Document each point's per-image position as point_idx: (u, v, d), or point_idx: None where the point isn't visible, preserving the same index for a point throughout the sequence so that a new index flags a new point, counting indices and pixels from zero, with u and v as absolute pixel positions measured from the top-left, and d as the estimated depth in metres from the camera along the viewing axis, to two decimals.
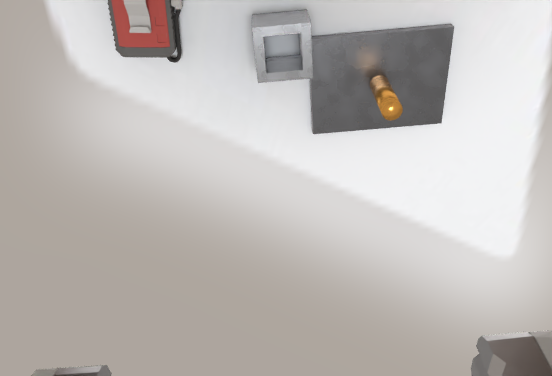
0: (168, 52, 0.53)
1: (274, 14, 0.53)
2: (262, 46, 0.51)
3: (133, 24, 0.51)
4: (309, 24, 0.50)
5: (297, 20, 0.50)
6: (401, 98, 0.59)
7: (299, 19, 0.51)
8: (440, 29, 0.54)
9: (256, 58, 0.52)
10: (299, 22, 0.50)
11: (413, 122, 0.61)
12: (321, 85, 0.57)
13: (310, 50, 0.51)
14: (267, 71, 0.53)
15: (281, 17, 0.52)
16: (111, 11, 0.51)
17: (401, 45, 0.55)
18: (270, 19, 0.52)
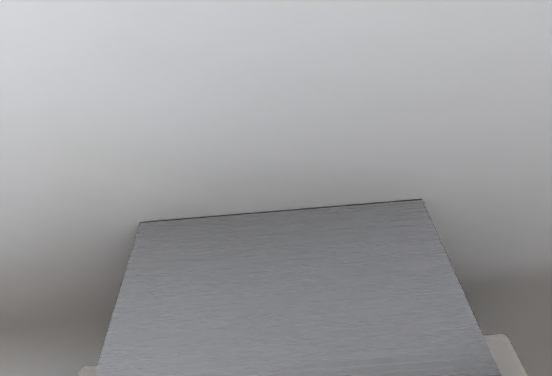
0: None
1: None
2: None
3: None
4: None
5: None
6: None
7: None
8: None
9: None
10: None
11: None
12: None
13: None
14: None
15: None
16: None
17: None
18: None
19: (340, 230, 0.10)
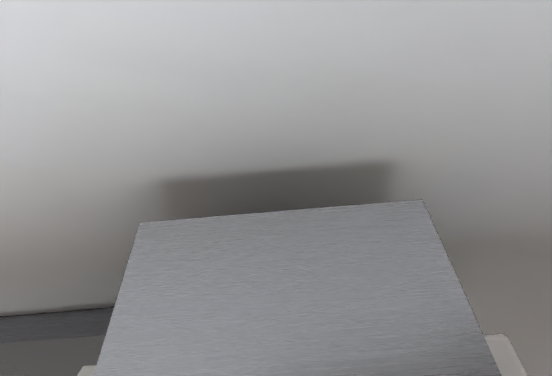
0: None
1: None
2: None
3: None
4: None
5: None
6: None
7: None
8: None
9: None
10: None
11: None
12: None
13: None
14: None
15: None
16: None
17: None
18: None
19: (340, 230, 0.10)
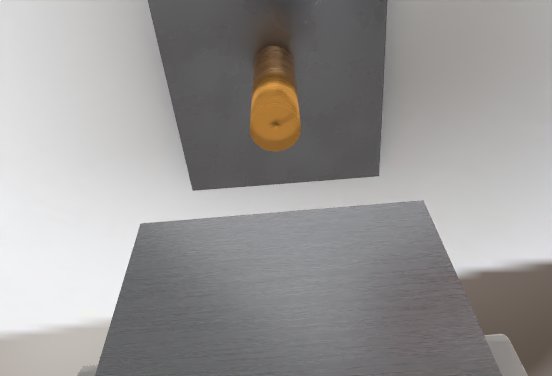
0: None
1: None
2: None
3: None
4: None
5: None
6: (241, 114, 0.28)
7: None
8: (376, 157, 0.30)
9: None
10: None
11: (189, 144, 0.30)
12: None
13: None
14: None
15: None
16: None
17: (354, 97, 0.28)
18: None
19: (341, 231, 0.10)
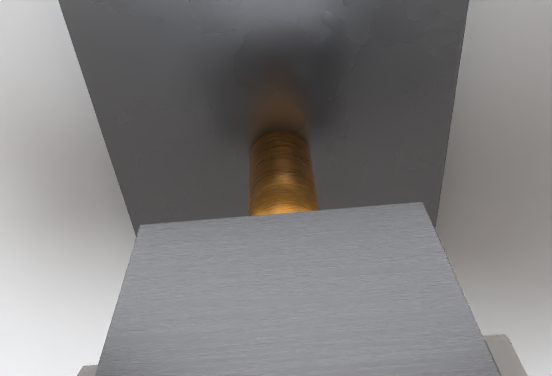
0: None
1: None
2: None
3: None
4: None
5: None
6: None
7: None
8: None
9: None
10: None
11: None
12: None
13: None
14: None
15: None
16: None
17: (398, 199, 0.19)
18: None
19: (340, 232, 0.10)
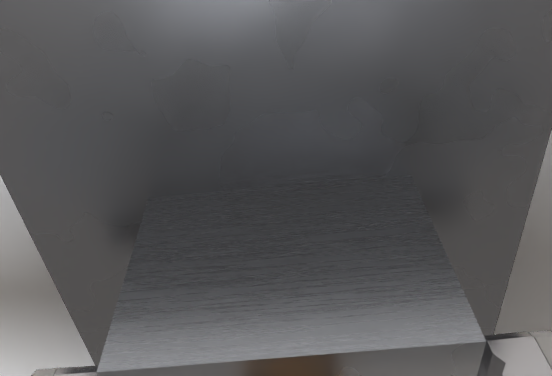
0: None
1: None
2: None
3: None
4: None
5: None
6: None
7: None
8: None
9: (273, 362, 0.08)
10: None
11: None
12: (283, 20, 0.09)
13: None
14: None
15: None
16: None
17: None
18: None
19: (334, 202, 0.11)
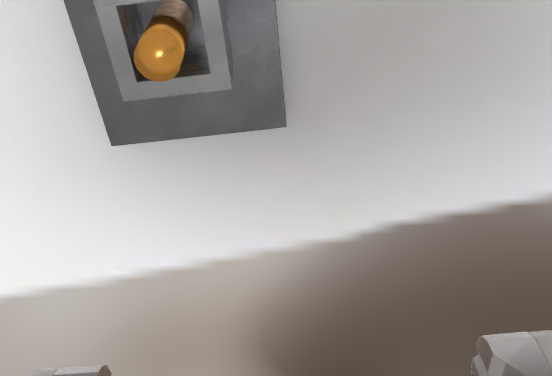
0: None
1: (223, 3, 0.28)
2: None
3: None
4: (228, 87, 0.27)
5: (228, 59, 0.27)
6: None
7: (229, 62, 0.27)
8: (282, 108, 0.33)
9: None
10: (229, 67, 0.26)
11: (102, 98, 0.31)
12: None
13: (178, 92, 0.27)
14: (118, 6, 0.24)
15: (225, 23, 0.27)
16: None
17: (253, 48, 0.30)
18: (221, 2, 0.26)
19: None
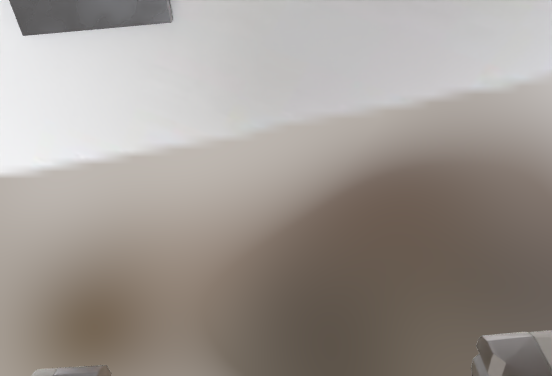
0: None
1: None
2: None
3: None
4: None
5: None
6: None
7: None
8: (165, 4, 0.38)
9: None
10: None
11: None
12: None
13: None
14: None
15: None
16: None
17: None
18: None
19: None
